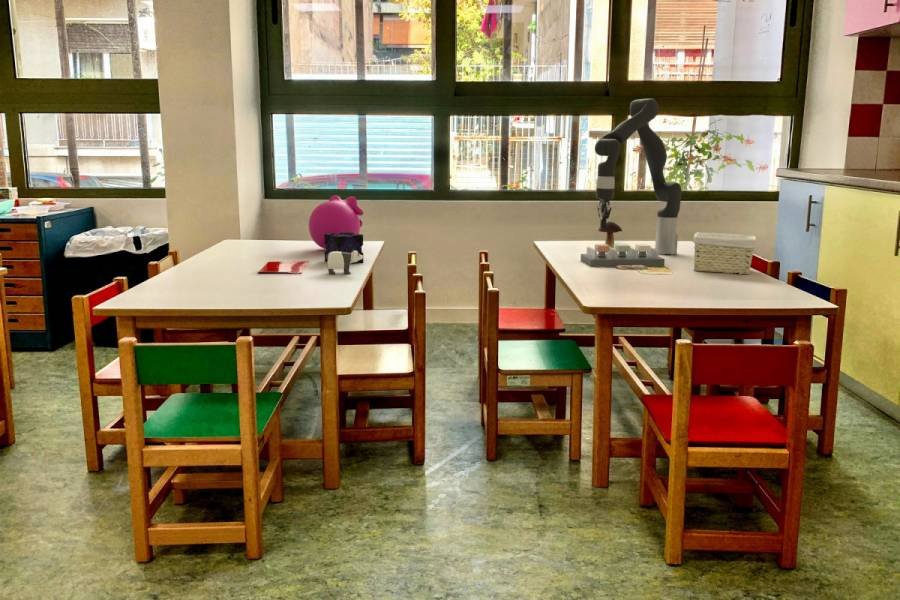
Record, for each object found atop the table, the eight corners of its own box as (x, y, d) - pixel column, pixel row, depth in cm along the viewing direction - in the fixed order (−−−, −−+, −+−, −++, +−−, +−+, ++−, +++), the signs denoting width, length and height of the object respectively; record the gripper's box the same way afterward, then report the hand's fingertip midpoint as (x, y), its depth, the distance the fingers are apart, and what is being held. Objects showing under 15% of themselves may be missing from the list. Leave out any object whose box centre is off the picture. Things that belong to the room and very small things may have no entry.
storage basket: (752, 269, 322) (756, 234, 319) (753, 276, 307) (756, 239, 304) (692, 266, 330) (695, 231, 327) (690, 272, 316) (693, 235, 312)
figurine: (371, 249, 367) (370, 196, 362) (338, 255, 347) (337, 199, 342) (333, 245, 379) (332, 193, 374) (299, 251, 359) (297, 196, 354)
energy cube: (338, 265, 321) (337, 236, 319) (324, 261, 331) (324, 233, 328) (363, 263, 328) (363, 234, 326) (349, 259, 338) (349, 231, 335)
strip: (643, 267, 324) (643, 264, 324) (647, 269, 320) (647, 266, 320) (615, 267, 323) (615, 265, 323) (619, 269, 319) (619, 266, 319)
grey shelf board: (651, 260, 344) (652, 245, 342) (664, 266, 328) (665, 251, 327) (580, 260, 341) (581, 245, 339) (590, 266, 325) (591, 251, 324)
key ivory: (645, 254, 337) (646, 244, 336) (649, 256, 332) (650, 245, 331) (634, 254, 337) (635, 244, 336) (638, 256, 332) (639, 245, 331)
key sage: (625, 254, 336) (626, 244, 335) (629, 256, 332) (630, 245, 331) (614, 254, 336) (615, 244, 335) (618, 256, 331) (618, 245, 330)
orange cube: (605, 255, 335) (606, 244, 335) (609, 256, 331) (609, 245, 330) (594, 255, 335) (594, 244, 334) (597, 256, 330) (598, 245, 329)
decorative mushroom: (607, 256, 355) (609, 223, 352) (592, 252, 364) (593, 221, 361) (625, 254, 360) (627, 222, 357) (610, 251, 369) (612, 220, 366)
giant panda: (326, 275, 298) (325, 250, 296) (325, 272, 304) (325, 248, 302) (364, 274, 301) (364, 249, 299) (363, 271, 306) (362, 247, 304)
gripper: (618, 188, 321) (616, 230, 324) (609, 186, 334) (606, 226, 337) (601, 188, 320) (598, 230, 324) (592, 186, 333) (590, 226, 336)
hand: (603, 228), depth 330 cm, fingers closed
